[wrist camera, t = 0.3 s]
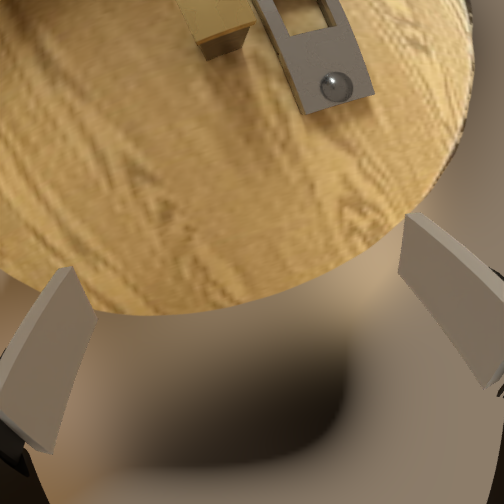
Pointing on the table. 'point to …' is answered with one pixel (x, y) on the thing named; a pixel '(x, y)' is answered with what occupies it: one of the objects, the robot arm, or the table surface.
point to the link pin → (218, 24)
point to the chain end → (319, 59)
